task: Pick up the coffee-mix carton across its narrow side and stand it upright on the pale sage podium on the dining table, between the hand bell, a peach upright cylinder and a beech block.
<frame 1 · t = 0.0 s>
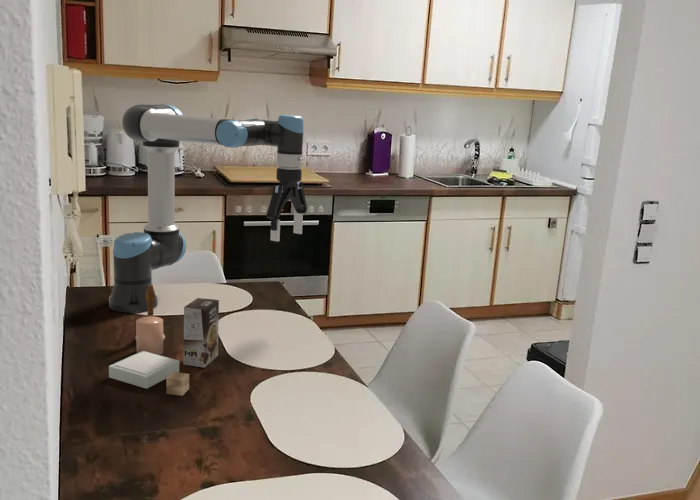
hand: (286, 237, 205), 28 cm above the table, fingers open, 13 cm apart
beech block: (177, 391, 160), on the table
peach upright cylinder: (149, 351, 183), on the table
podium: (144, 374, 168), on the table
hand bell: (150, 338, 193), on the table
coffee box: (201, 360, 179), on the table
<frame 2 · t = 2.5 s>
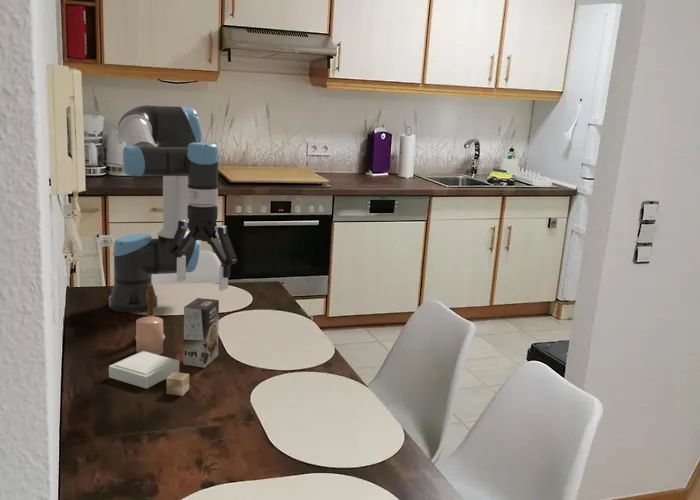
hand: (202, 284, 174), 21 cm above the table, fingers open, 13 cm apart
nothing on the table moved.
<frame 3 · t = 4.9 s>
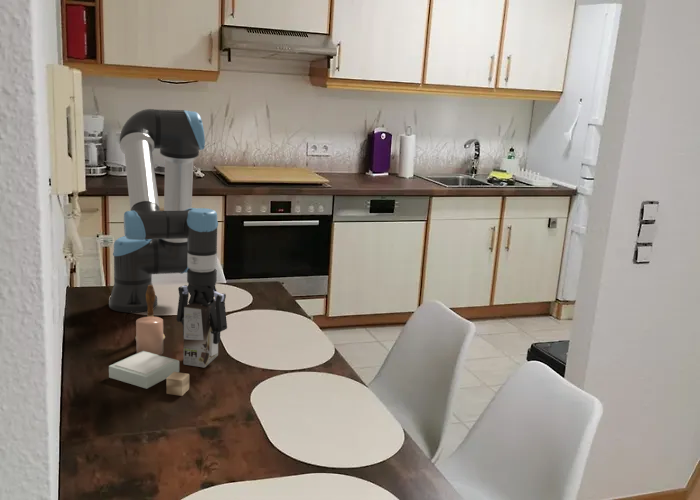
hand: (201, 350, 179), 3 cm above the table, fingers closed on coffee box, 7 cm apart
coffee box: (201, 360, 179), on the table, touching gripper
everything else where it was.
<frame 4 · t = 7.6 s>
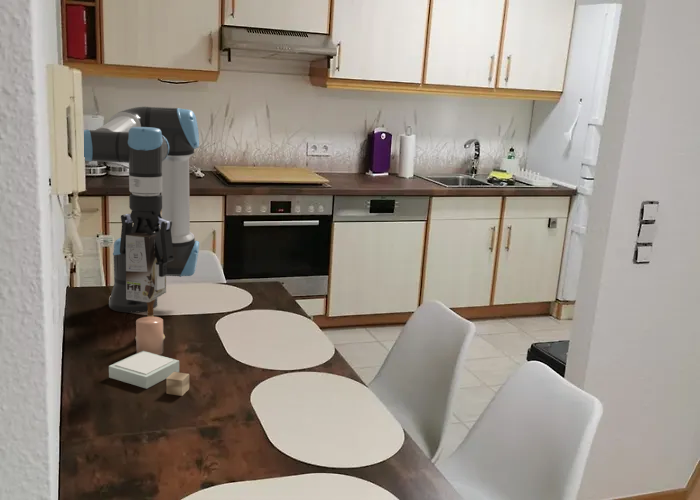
hand: (146, 285, 163), 23 cm above the table, fingers closed on coffee box, 7 cm apart
coffee box: (146, 297, 164), point 20 cm above the table, touching gripper
everything else where it was.
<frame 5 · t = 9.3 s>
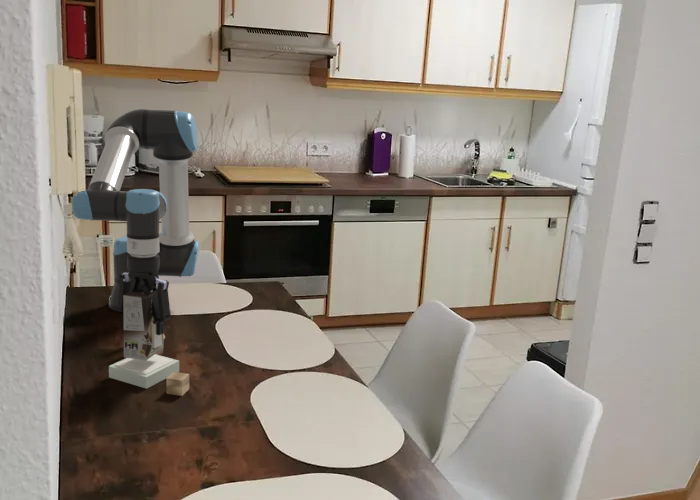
hand: (144, 342, 166), 9 cm above the table, fingers closed on coffee box, 7 cm apart
coffee box: (144, 353, 167), point 6 cm above the table, touching gripper
everything else where it was.
when the fingers open (7 cm above the table, at t = 10.3 s): coffee box drops 1 cm, resting on podium.
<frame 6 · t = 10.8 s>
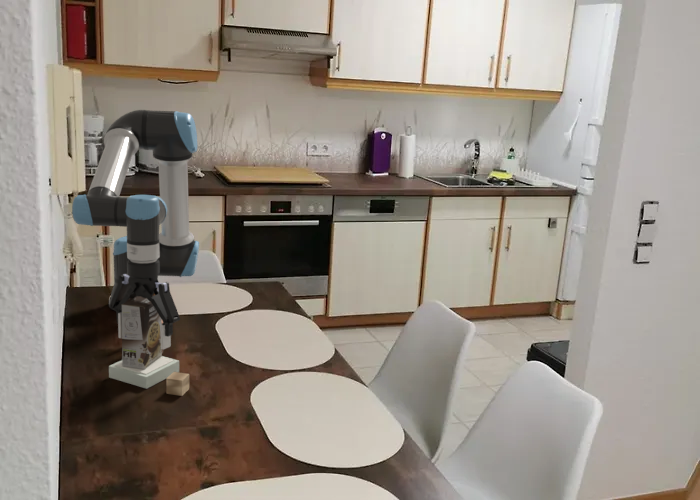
hand: (144, 342, 166), 9 cm above the table, fingers open, 13 cm apart
coffee box: (142, 361, 168), point 3 cm above the table, touching podium
everything else where it was.
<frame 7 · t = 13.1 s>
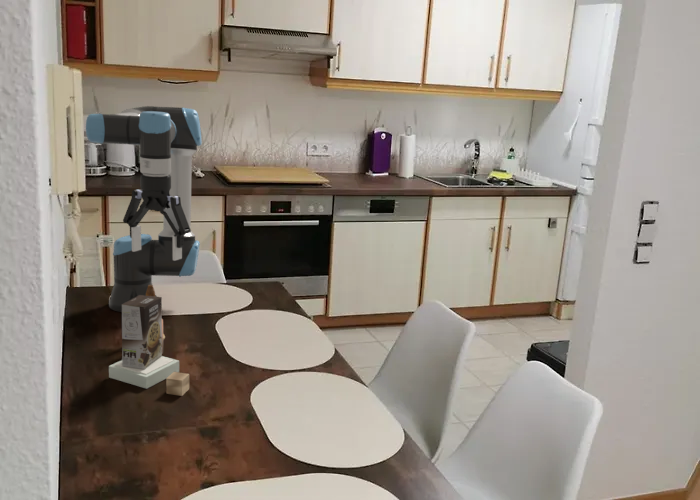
hand: (156, 255, 174), 28 cm above the table, fingers open, 13 cm apart
nothing on the table moved.
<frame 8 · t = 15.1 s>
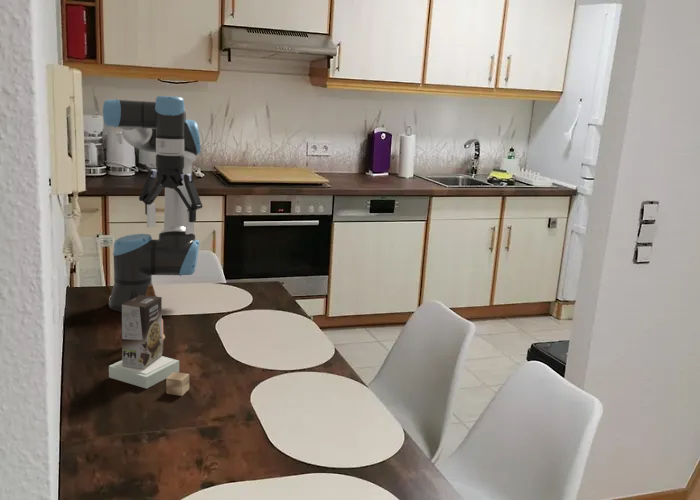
hand: (170, 230, 187), 32 cm above the table, fingers open, 13 cm apart
nothing on the table moved.
at the end: coffee box inside the target area on the podium (0.9 cm from its centre), point 3.0 cm above the podium's base; coffee box tilted 0°; the gripper is holding nothing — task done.
